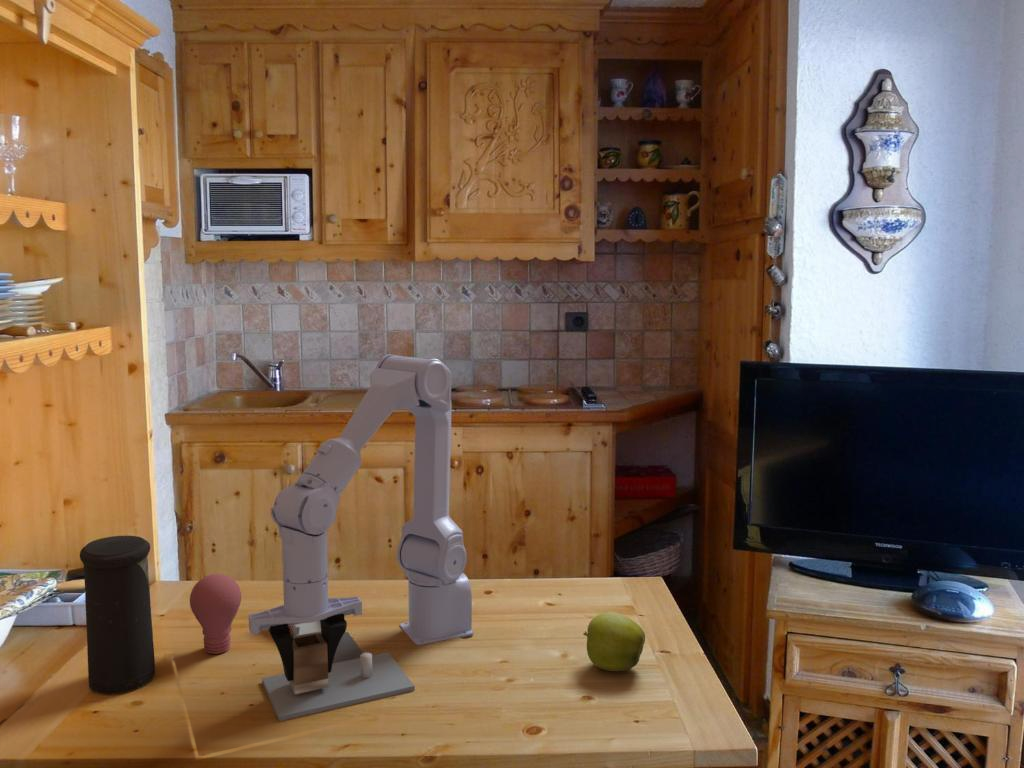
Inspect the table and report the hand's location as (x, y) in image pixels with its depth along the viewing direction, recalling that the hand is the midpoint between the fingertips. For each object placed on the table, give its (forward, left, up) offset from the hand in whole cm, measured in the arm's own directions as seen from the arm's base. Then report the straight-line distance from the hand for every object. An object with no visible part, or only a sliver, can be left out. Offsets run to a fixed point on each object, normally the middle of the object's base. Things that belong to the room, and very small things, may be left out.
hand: (308, 673), depth 115 cm
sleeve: (0, 0, -2) cm, 2 cm away
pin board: (-4, 0, -3) cm, 5 cm away
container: (+22, -15, -3) cm, 27 cm away
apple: (-41, +11, -3) cm, 43 cm away
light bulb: (+9, -18, -3) cm, 20 cm away
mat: (-5, -11, -3) cm, 12 cm away
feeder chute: (-5, -20, -3) cm, 21 cm away
